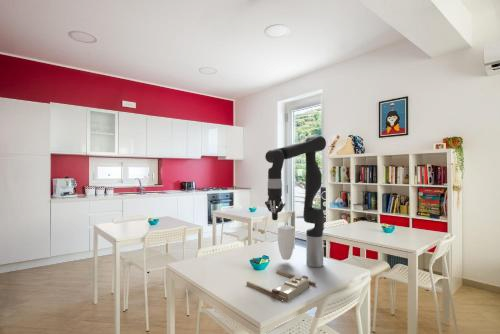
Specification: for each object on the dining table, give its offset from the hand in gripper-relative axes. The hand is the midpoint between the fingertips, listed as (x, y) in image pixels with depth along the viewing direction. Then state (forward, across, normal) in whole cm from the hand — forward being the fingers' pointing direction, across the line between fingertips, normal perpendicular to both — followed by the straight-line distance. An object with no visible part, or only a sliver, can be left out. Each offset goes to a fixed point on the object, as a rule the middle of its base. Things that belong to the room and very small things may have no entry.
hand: (274, 219), depth 149 cm
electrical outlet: (+30, -18, +9) cm, 36 cm away
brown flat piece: (+29, -11, +8) cm, 32 cm away
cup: (+29, +7, -18) cm, 35 cm away
